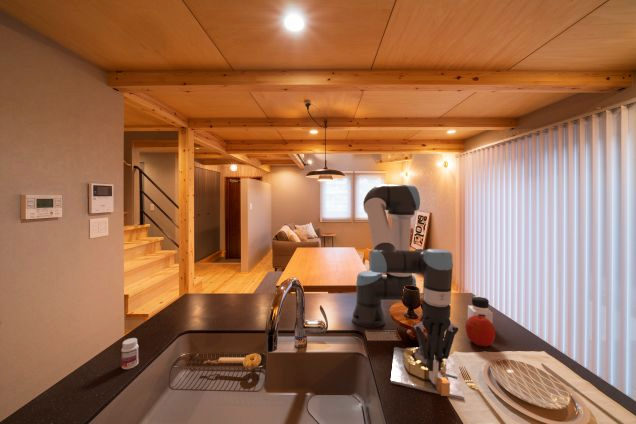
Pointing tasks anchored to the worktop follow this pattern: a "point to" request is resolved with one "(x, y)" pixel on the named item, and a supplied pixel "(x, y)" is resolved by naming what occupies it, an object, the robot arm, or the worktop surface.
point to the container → (480, 308)
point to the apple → (480, 330)
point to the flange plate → (413, 381)
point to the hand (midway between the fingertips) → (433, 380)
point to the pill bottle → (130, 353)
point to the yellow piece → (426, 371)
